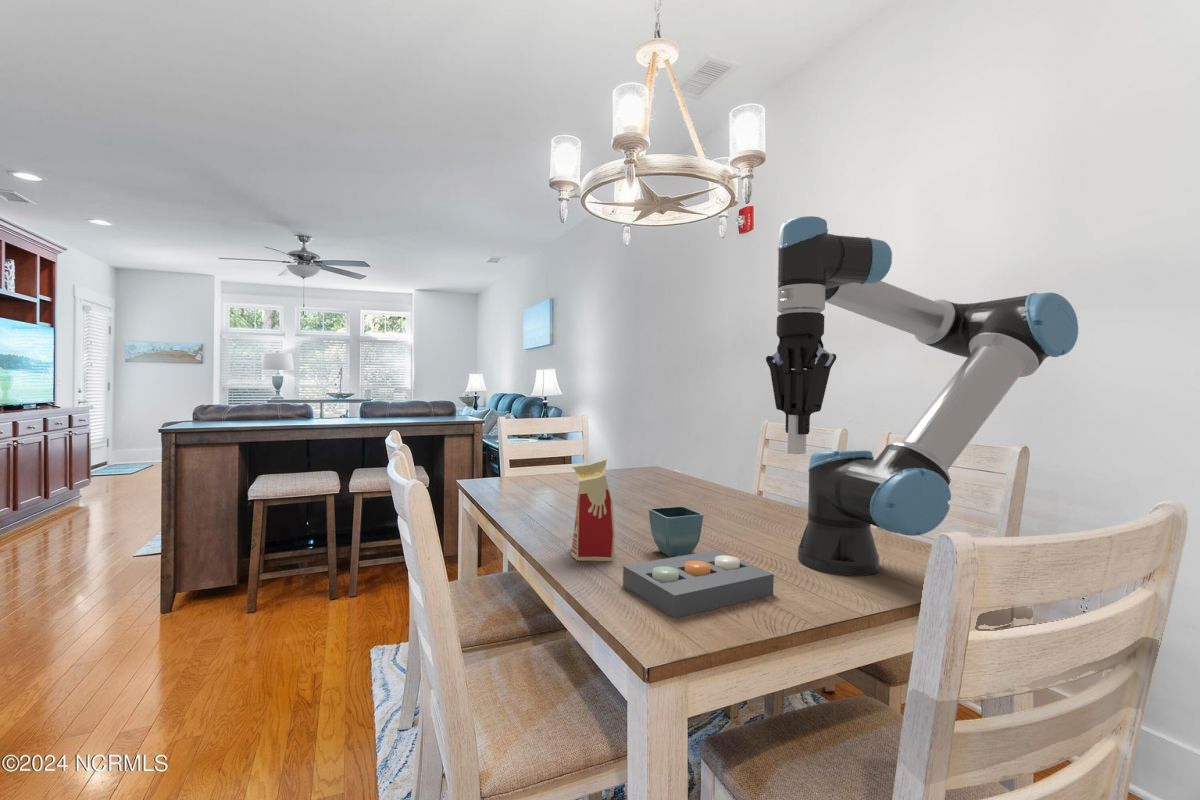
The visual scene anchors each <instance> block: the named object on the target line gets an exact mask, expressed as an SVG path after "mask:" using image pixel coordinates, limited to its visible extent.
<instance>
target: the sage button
mask: <svg viewBox="0 0 1200 800" xmlns="http://www.w3.org/2000/svg"><path fill="white" fill-rule="evenodd" d="M652 578H653V579H655V580H657V581H659V582H660V583H667V582H672V581H677V580H679V571H678V570H677V569H676V568H673V567H667V566H660V567H655V568H653V570H652Z"/></svg>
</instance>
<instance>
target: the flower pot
mask: <svg viewBox="0 0 1200 800" xmlns="http://www.w3.org/2000/svg"><path fill="white" fill-rule="evenodd" d="M648 516H649V527H650V532H651V536H652V539H653V541H654V543H655V545H656V547H657V549H658V551H660V552H662V554H664V555H666V556H668V558H672V557H678V556H684V555H689V554H693V552H694V551H695V550H696V548H697V546H698V543H699V541H700V538H701V534H702V533H701V532H702V528H703V527H702V526H703V519H704V514H703V513H701V512H698V511H696V510H694V509H691V508H688V507H686V506H683V505H680V506H679V505H678V506H668V507H667V506H665V507H654V508H648Z"/></svg>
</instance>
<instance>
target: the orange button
mask: <svg viewBox="0 0 1200 800" xmlns="http://www.w3.org/2000/svg"><path fill="white" fill-rule="evenodd" d="M685 572H687V573H689V574H691V575H693V576H695V577H697V576H702V575H707V574H710V564H708V563H706V562H703V561H688V562H686V563H685Z"/></svg>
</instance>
